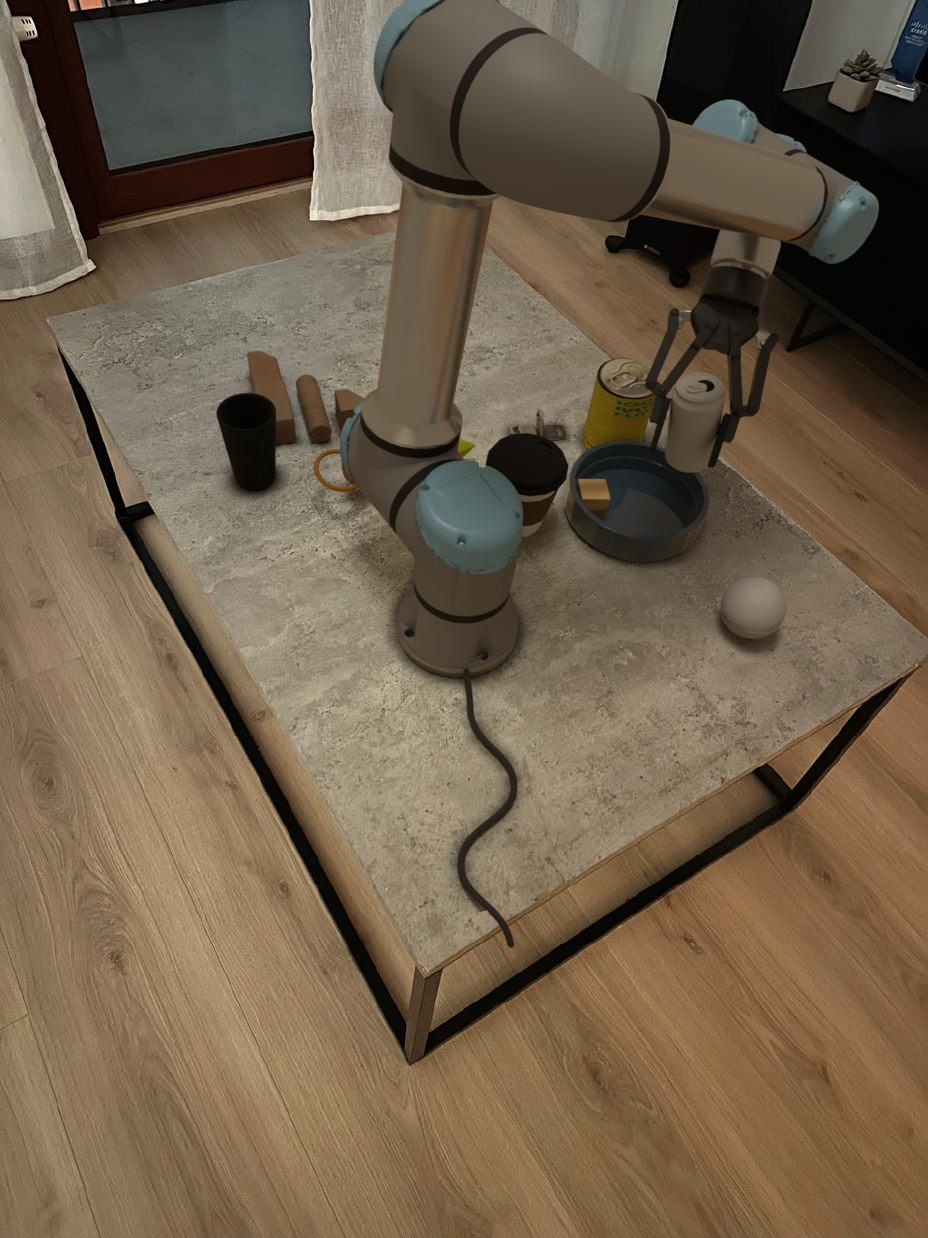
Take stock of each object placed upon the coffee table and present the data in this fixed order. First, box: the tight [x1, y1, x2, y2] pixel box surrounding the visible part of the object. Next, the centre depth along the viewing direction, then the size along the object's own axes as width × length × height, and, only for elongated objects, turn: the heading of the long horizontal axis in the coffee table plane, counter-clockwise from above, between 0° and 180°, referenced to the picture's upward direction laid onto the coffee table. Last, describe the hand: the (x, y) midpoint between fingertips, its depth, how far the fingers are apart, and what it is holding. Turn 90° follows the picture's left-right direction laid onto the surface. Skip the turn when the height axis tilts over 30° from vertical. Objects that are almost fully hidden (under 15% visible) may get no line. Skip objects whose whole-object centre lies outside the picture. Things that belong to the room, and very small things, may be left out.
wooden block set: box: [246, 350, 366, 445], centre depth 136 cm, size 17×6×18 cm
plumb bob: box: [313, 438, 477, 493], centre depth 126 cm, size 9×9×25 cm
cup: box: [215, 392, 277, 493], centre depth 123 cm, size 8×8×12 cm
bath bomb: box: [719, 576, 787, 640], centre depth 115 cm, size 8×8×8 cm
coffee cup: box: [485, 433, 570, 538], centre depth 121 cm, size 11×11×12 cm
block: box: [576, 479, 610, 519], centre depth 126 cm, size 4×4×4 cm
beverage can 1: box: [581, 357, 661, 451], centre depth 134 cm, size 9×9×12 cm
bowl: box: [563, 440, 711, 563], centre depth 127 cm, size 20×20×5 cm
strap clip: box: [509, 408, 567, 441], centre depth 136 cm, size 8×3×4 cm, turn 100°
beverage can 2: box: [665, 372, 726, 473], centre depth 114 cm, size 6×6×12 cm
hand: (681, 458), depth 113 cm, fingers closed on beverage can 2, 7 cm apart
